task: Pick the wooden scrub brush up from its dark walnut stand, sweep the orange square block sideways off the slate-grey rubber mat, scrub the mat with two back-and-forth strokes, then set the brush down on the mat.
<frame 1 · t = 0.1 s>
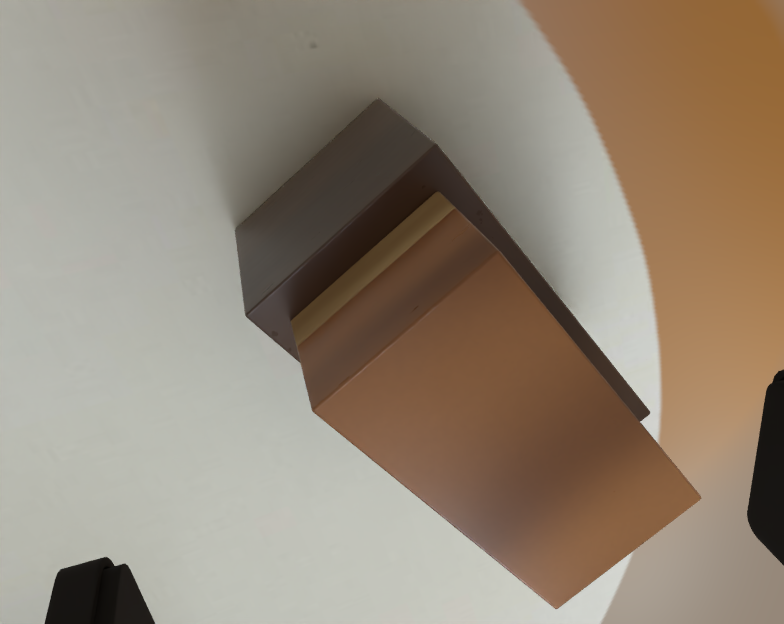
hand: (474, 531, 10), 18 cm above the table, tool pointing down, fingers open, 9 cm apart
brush: (473, 371, 22), point 7 cm above the table, touching stand
stand: (414, 281, 28), on the table
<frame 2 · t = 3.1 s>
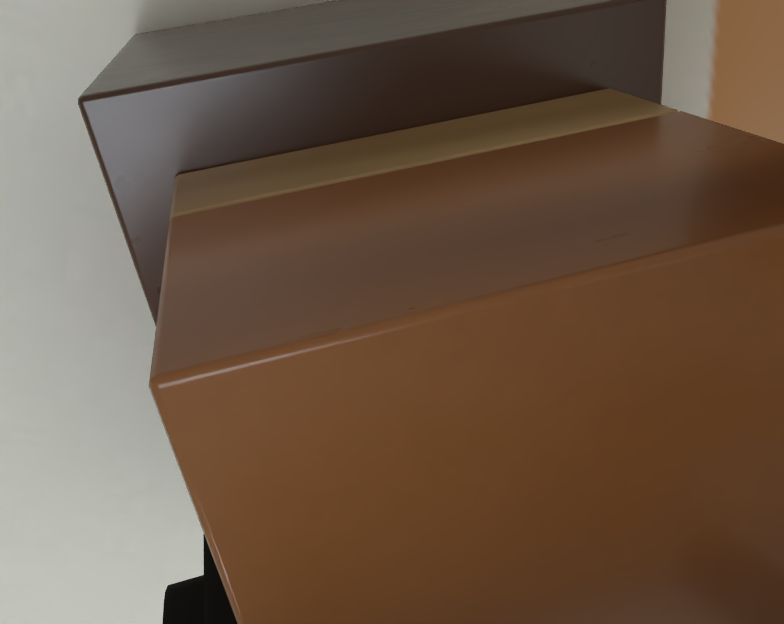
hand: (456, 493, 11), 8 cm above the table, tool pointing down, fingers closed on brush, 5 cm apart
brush: (446, 472, 11), point 7 cm above the table, touching gripper, stand
stand: (359, 289, 17), on the table
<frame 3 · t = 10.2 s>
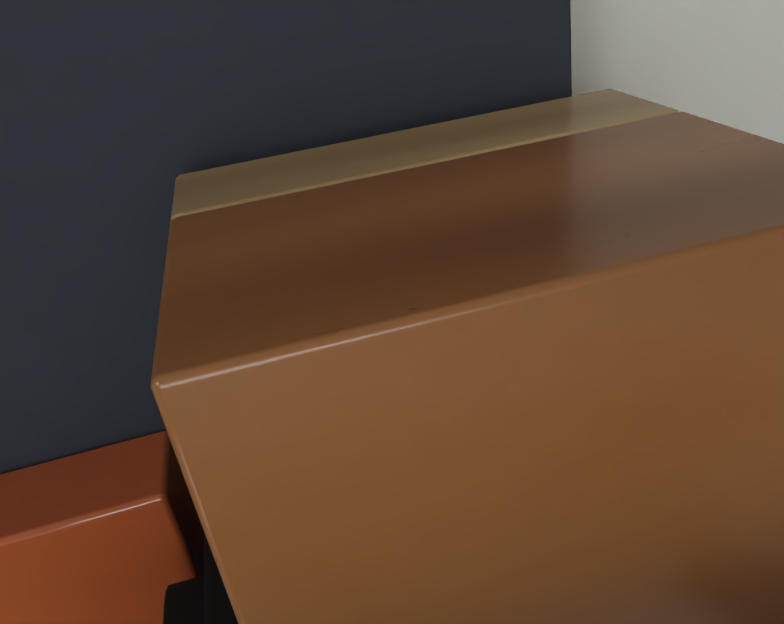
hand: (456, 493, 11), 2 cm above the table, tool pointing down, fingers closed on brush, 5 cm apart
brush: (447, 472, 11), point 1 cm above the table, touching gripper
mat: (61, 212, 9), on the table
orange square block: (90, 544, 11), point 1 cm above the table, touching gripper, mat
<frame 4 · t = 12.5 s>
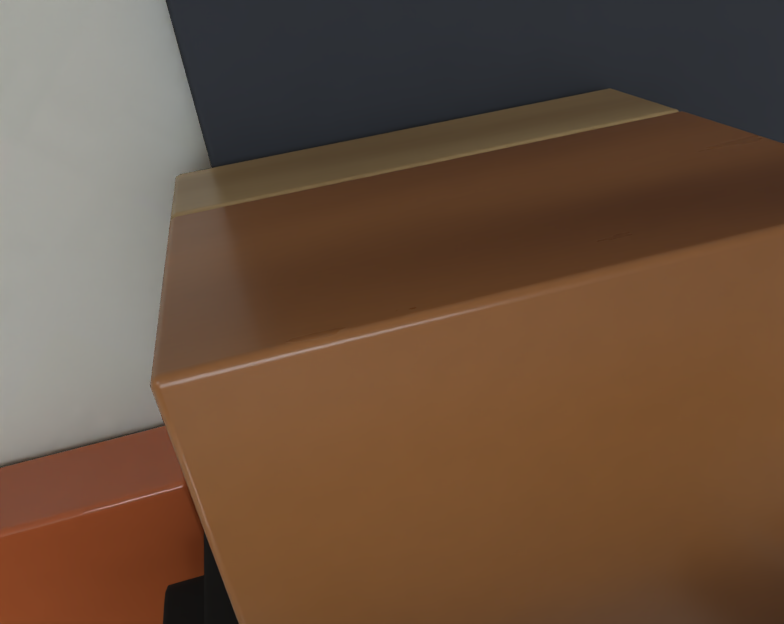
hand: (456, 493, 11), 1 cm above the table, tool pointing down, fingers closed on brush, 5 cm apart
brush: (447, 472, 11), point 1 cm above the table, touching gripper
mat: (702, 84, 10), on the table
orange square block: (109, 531, 11), on the table, touching gripper
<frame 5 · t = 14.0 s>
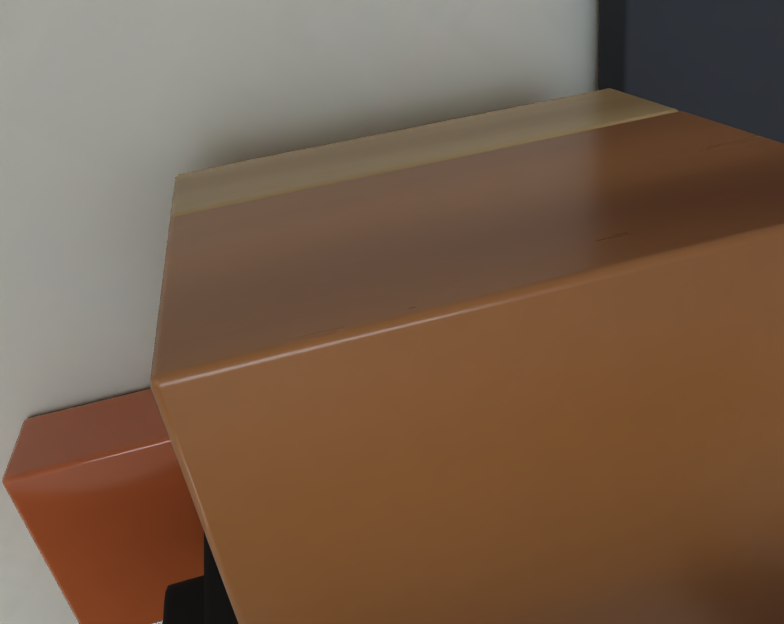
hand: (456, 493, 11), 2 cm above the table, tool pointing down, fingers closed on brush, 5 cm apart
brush: (446, 471, 11), point 2 cm above the table, touching gripper
orange square block: (170, 472, 12), on the table
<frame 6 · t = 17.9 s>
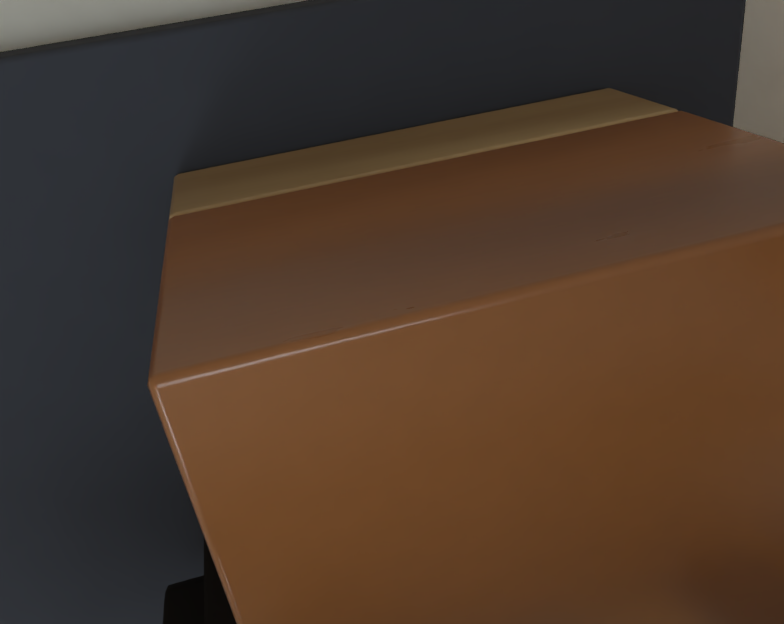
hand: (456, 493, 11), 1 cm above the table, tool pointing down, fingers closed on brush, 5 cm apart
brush: (446, 472, 11), point 1 cm above the table, touching gripper
mat: (233, 495, 11), on the table
when the fingers open (1 cm above the table, at t = 21.0 s): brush stays where it is, resting on mat.
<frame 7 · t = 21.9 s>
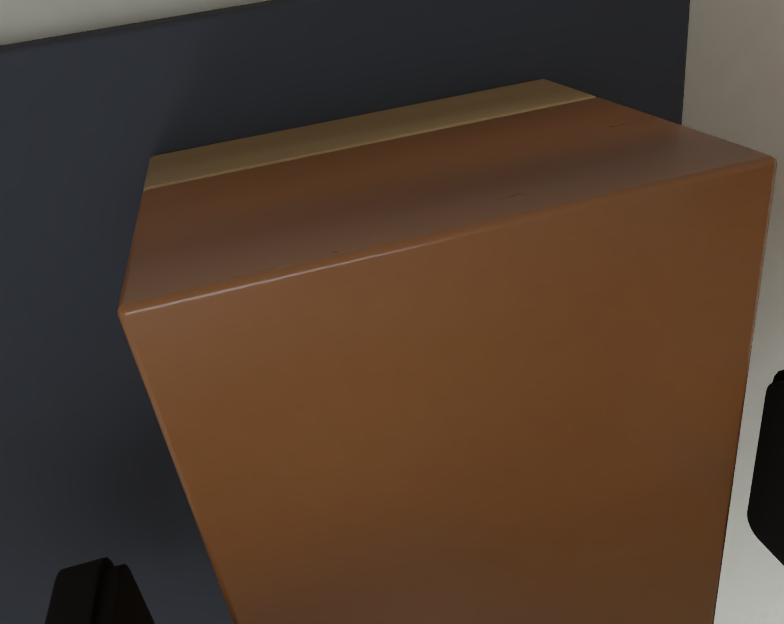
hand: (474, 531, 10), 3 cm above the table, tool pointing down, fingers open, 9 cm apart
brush: (407, 434, 12), point 1 cm above the table, touching mat
mat: (231, 453, 12), on the table
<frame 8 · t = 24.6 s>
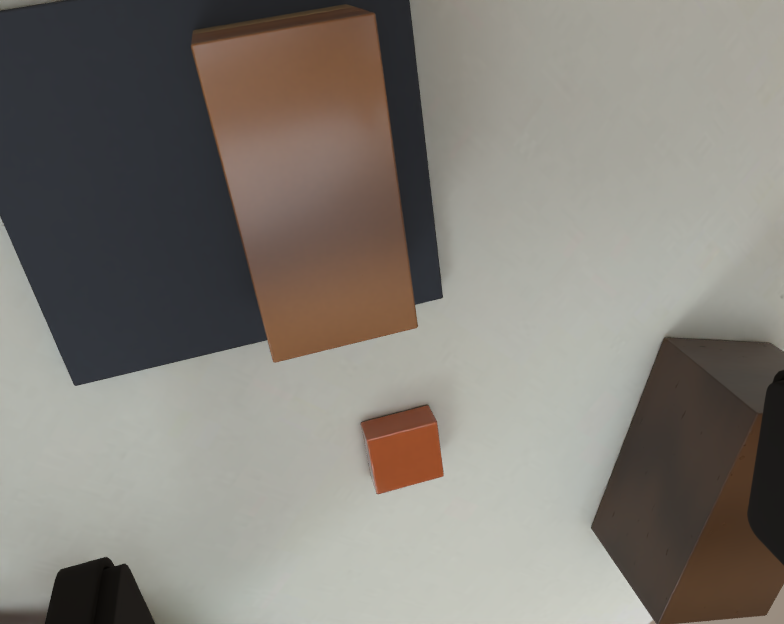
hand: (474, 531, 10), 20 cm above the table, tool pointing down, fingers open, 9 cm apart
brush: (302, 169, 27), point 1 cm above the table, touching mat
mat: (224, 179, 27), on the table
orange square block: (399, 440, 35), on the table
stand: (676, 439, 40), on the table
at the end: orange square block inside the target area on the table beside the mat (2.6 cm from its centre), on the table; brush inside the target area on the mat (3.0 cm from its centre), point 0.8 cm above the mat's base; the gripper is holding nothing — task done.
